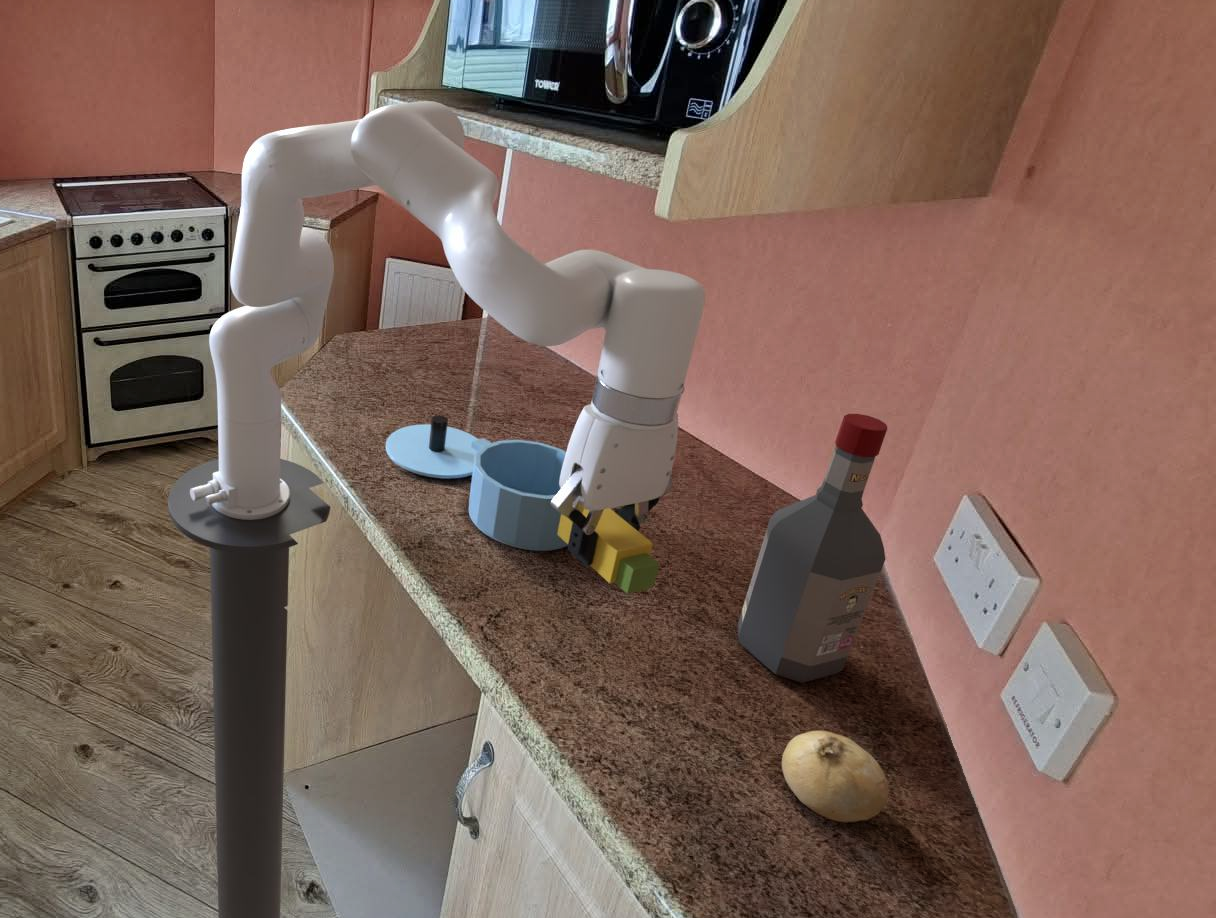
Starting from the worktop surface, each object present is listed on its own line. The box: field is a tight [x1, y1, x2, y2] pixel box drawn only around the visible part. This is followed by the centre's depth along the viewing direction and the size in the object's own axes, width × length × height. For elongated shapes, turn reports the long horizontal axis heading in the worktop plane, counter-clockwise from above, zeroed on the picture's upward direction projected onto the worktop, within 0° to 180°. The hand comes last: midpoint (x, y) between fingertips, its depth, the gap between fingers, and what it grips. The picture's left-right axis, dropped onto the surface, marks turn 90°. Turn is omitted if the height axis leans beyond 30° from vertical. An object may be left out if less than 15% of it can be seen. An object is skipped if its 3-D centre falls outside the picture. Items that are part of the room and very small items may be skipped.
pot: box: [468, 437, 568, 552], centre depth 114 cm, size 16×21×8 cm
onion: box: [781, 730, 890, 824], centre depth 73 cm, size 8×8×7 cm
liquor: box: [737, 413, 888, 684], centre depth 85 cm, size 9×9×30 cm
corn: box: [557, 502, 661, 595], centre depth 82 cm, size 10×4×4 cm, turn 18°
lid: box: [385, 414, 480, 479], centre depth 130 cm, size 17×17×7 cm
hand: (600, 551), depth 83 cm, fingers closed on corn, 4 cm apart
